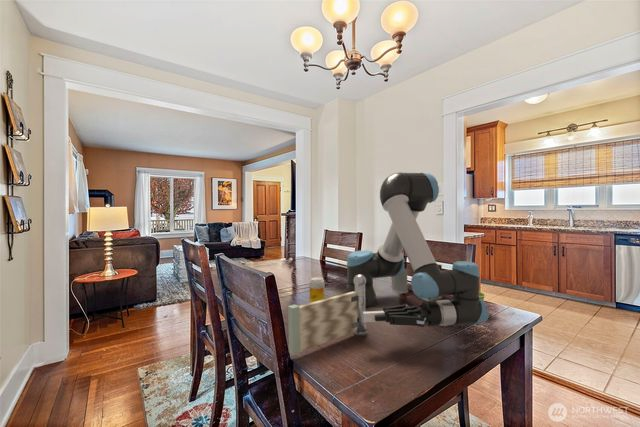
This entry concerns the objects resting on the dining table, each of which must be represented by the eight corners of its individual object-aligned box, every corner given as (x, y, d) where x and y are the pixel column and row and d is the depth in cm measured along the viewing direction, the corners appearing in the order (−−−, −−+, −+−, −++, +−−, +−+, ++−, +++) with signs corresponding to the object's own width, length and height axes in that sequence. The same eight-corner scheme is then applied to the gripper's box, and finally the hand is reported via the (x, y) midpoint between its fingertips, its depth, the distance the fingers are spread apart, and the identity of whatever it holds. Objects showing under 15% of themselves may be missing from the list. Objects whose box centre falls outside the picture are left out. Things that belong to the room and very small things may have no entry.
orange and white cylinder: (309, 312, 120) (309, 277, 120) (324, 311, 121) (323, 276, 121) (310, 318, 114) (309, 280, 114) (325, 317, 115) (324, 280, 114)
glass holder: (398, 294, 143) (397, 264, 142) (381, 287, 156) (381, 260, 155) (412, 292, 146) (411, 263, 146) (394, 285, 159) (394, 258, 159)
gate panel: (354, 327, 100) (353, 289, 99) (359, 329, 98) (358, 290, 97) (288, 352, 84) (287, 306, 83) (293, 355, 82) (292, 308, 81)
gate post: (352, 330, 102) (351, 273, 102) (365, 329, 102) (364, 272, 102) (355, 336, 97) (354, 276, 97) (368, 335, 98) (368, 275, 97)
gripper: (448, 334, 83) (369, 339, 81) (426, 316, 96) (358, 320, 94) (448, 308, 83) (369, 313, 81) (426, 294, 96) (358, 298, 94)
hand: (363, 317), depth 87 cm, fingers closed
